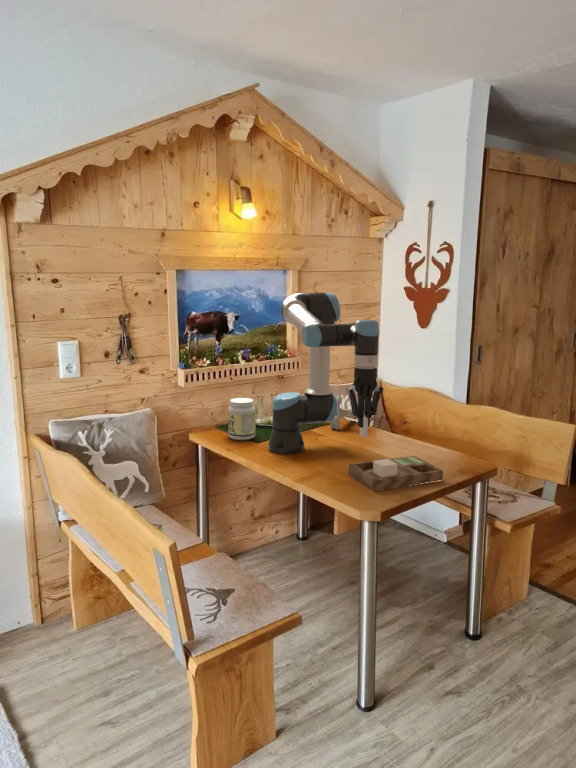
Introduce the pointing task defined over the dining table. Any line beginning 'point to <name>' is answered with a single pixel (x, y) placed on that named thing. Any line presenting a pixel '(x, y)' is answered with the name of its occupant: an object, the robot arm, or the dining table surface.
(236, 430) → the supplement tub
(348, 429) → the dining table surface
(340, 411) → the hammer
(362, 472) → the board
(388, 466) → the block
